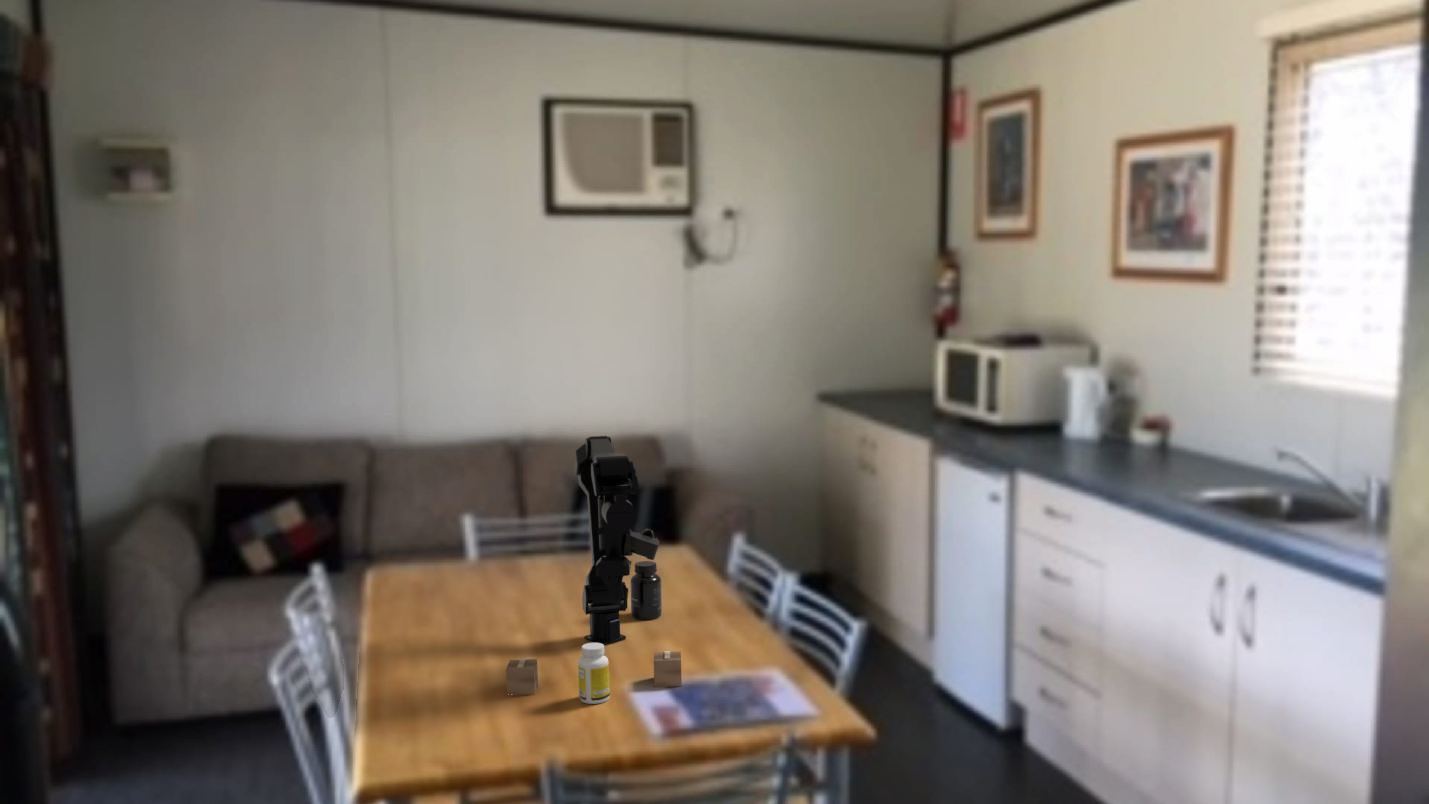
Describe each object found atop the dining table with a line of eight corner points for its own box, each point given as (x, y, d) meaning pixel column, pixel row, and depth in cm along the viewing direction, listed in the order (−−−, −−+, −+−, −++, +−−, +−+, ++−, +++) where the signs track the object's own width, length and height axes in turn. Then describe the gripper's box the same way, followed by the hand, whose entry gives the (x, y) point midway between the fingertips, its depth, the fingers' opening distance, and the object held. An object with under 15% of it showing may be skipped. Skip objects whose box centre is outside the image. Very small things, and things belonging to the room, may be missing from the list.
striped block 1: (510, 686, 213) (509, 658, 212) (538, 685, 213) (536, 657, 212) (507, 696, 208) (505, 667, 207) (534, 695, 208) (533, 666, 208)
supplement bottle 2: (625, 619, 253) (624, 565, 251) (639, 610, 259) (637, 558, 258) (654, 622, 250) (652, 568, 249) (667, 613, 256) (665, 560, 255)
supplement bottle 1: (614, 695, 207) (613, 642, 206) (602, 706, 202) (600, 652, 201) (587, 692, 208) (585, 640, 207) (574, 703, 203) (572, 649, 202)
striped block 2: (654, 678, 216) (653, 650, 215) (681, 677, 216) (680, 649, 215) (654, 687, 211) (653, 659, 210) (681, 686, 211) (681, 658, 210)
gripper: (655, 530, 210) (657, 614, 211) (656, 510, 228) (658, 587, 230) (594, 532, 209) (596, 616, 211) (600, 511, 228) (603, 588, 229)
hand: (616, 601), depth 220 cm, fingers closed
